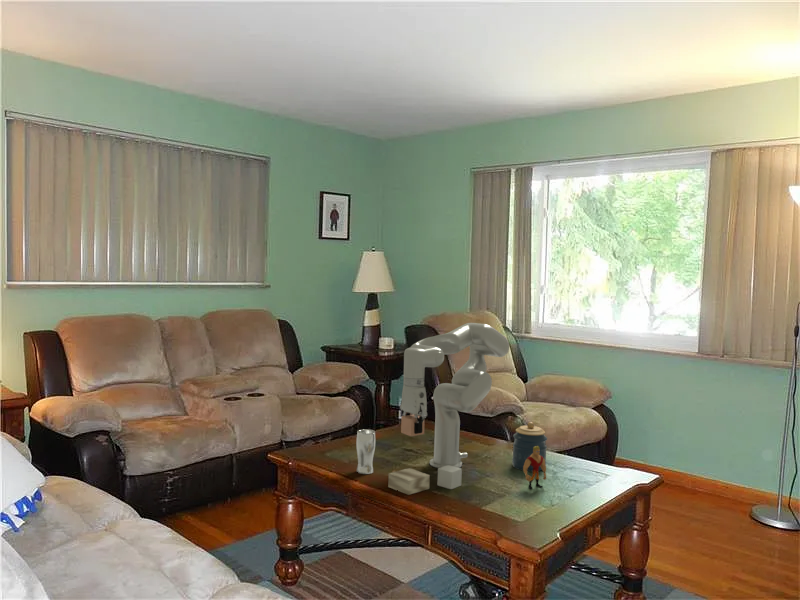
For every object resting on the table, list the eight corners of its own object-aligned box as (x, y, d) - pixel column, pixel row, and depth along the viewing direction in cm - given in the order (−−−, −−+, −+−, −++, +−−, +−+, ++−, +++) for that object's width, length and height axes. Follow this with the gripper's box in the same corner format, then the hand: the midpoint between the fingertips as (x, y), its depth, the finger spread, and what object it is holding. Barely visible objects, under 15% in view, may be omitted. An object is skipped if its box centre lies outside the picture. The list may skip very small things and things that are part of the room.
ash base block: (408, 481, 227) (409, 467, 227) (429, 489, 220) (429, 475, 220) (388, 487, 220) (388, 473, 220) (408, 495, 213) (409, 481, 213)
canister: (526, 473, 240) (528, 427, 239) (505, 464, 251) (507, 419, 250) (553, 469, 246) (555, 424, 245) (531, 460, 257) (532, 417, 257)
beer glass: (371, 475, 232) (373, 434, 231) (353, 473, 233) (354, 433, 232) (376, 469, 238) (377, 430, 238) (358, 468, 240) (359, 428, 239)
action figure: (526, 490, 221) (528, 447, 220) (520, 487, 224) (522, 445, 224) (549, 487, 225) (551, 445, 224) (542, 484, 228) (544, 443, 228)
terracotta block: (414, 430, 237) (414, 414, 236) (424, 434, 232) (424, 417, 231) (401, 432, 233) (401, 416, 233) (410, 436, 228) (411, 419, 228)
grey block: (447, 481, 228) (447, 464, 228) (461, 485, 224) (461, 468, 224) (437, 485, 224) (438, 468, 223) (451, 489, 220) (452, 472, 220)
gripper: (436, 385, 226) (435, 435, 227) (408, 377, 240) (407, 424, 242) (419, 387, 222) (418, 438, 223) (391, 379, 236) (390, 427, 237)
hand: (412, 430), depth 232 cm, fingers closed on terracotta block, 6 cm apart
